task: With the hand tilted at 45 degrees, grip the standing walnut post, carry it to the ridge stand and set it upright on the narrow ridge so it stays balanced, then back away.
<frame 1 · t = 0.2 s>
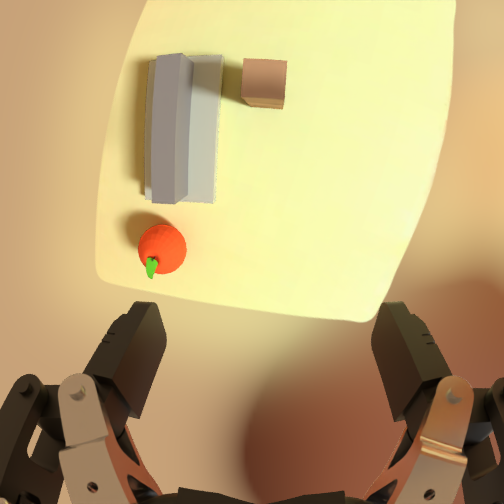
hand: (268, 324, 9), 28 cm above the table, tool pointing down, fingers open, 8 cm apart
walnut post: (268, 93, 30), on the table
ridge stand: (182, 127, 33), on the table
clementine: (170, 242, 40), on the table
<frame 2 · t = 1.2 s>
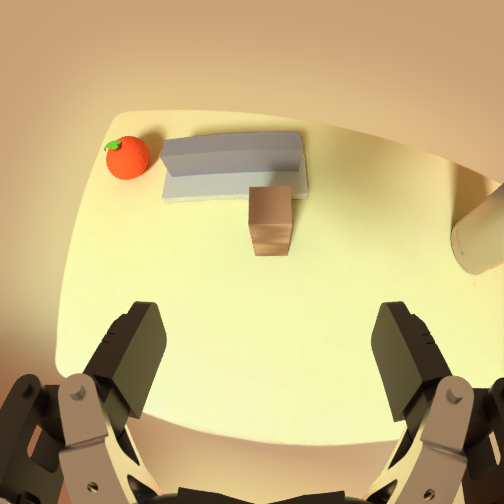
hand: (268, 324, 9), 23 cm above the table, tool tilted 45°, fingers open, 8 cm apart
walnut post: (271, 240, 35), on the table
ridge stand: (235, 170, 39), on the table
clementine: (134, 170, 41), on the table
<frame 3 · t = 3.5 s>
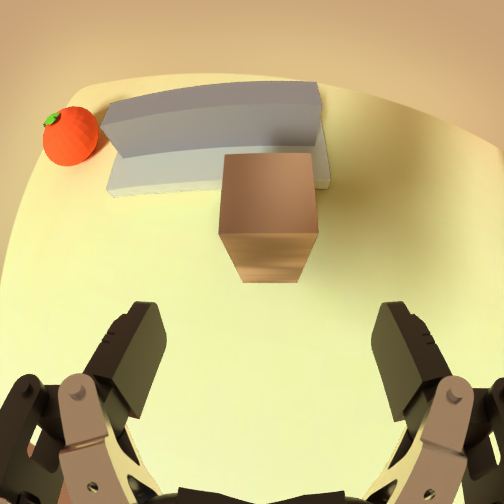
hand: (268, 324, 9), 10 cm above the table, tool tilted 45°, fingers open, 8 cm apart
walnut post: (270, 257, 21), on the table
ridge stand: (216, 145, 25), on the table
clementine: (83, 153, 27), on the table
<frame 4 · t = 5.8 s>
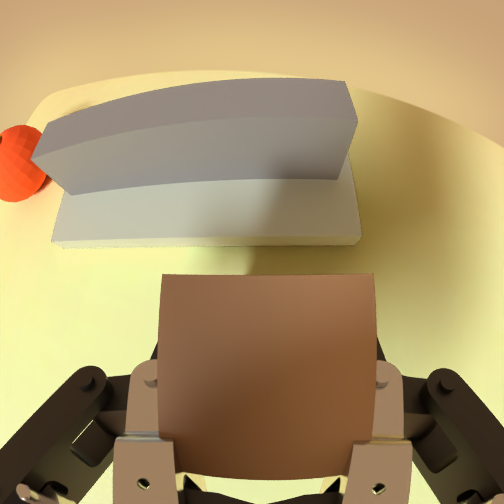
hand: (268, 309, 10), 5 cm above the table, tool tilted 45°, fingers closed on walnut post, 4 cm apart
walnut post: (269, 353, 14), on the table, touching gripper
ridge stand: (193, 175, 17), on the table
clementine: (37, 181, 20), on the table
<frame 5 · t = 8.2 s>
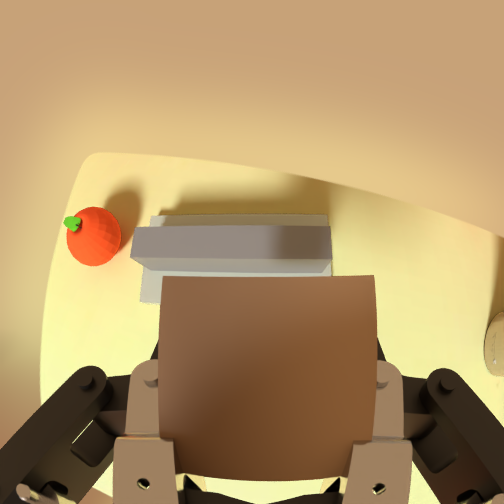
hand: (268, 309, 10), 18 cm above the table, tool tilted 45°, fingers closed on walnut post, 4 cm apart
walnut post: (269, 354, 14), point 14 cm above the table, touching gripper
ridge stand: (235, 262, 30), on the table
clementine: (106, 245, 32), on the table
when the fingers open (12 cm above the table, at t = 10.9 s): walnut post stays where it is, resting on ridge stand.
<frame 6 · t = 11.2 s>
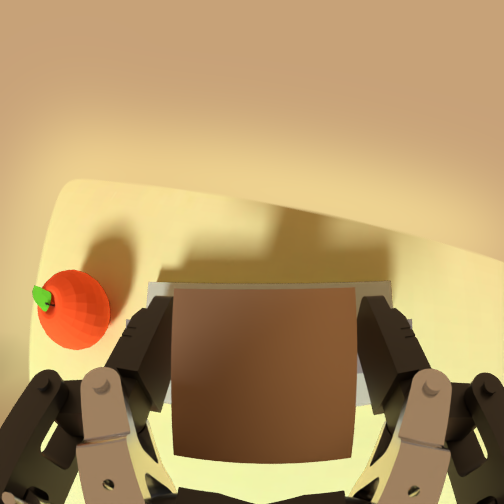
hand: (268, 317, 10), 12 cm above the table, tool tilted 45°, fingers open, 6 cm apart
walnut post: (268, 354, 15), point 6 cm above the table, touching ridge stand
ridge stand: (269, 348, 21), on the table
clementine: (92, 312, 23), on the table
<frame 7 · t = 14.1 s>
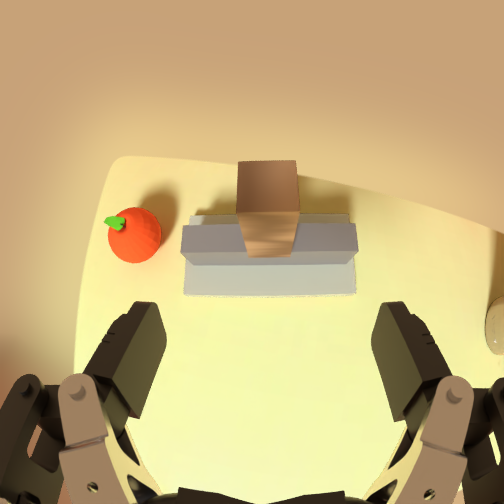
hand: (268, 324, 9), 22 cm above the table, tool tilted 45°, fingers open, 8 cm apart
walnut post: (269, 238, 27), point 6 cm above the table, touching ridge stand
ridge stand: (269, 256, 33), on the table
clementine: (143, 243, 35), on the table
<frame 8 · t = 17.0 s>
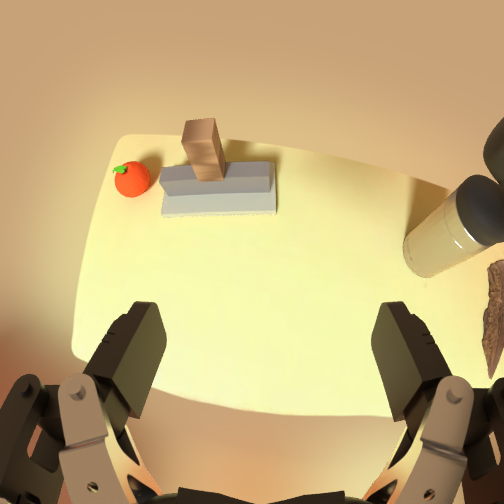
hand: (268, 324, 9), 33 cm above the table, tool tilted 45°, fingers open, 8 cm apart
walnut post: (212, 171, 42), point 6 cm above the table, touching ridge stand
ridge stand: (219, 190, 48), on the table
clementine: (137, 188, 50), on the table
wooden fragment: (497, 317, 37), on the table
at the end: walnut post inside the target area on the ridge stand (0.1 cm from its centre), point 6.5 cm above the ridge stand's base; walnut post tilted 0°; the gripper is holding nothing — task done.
